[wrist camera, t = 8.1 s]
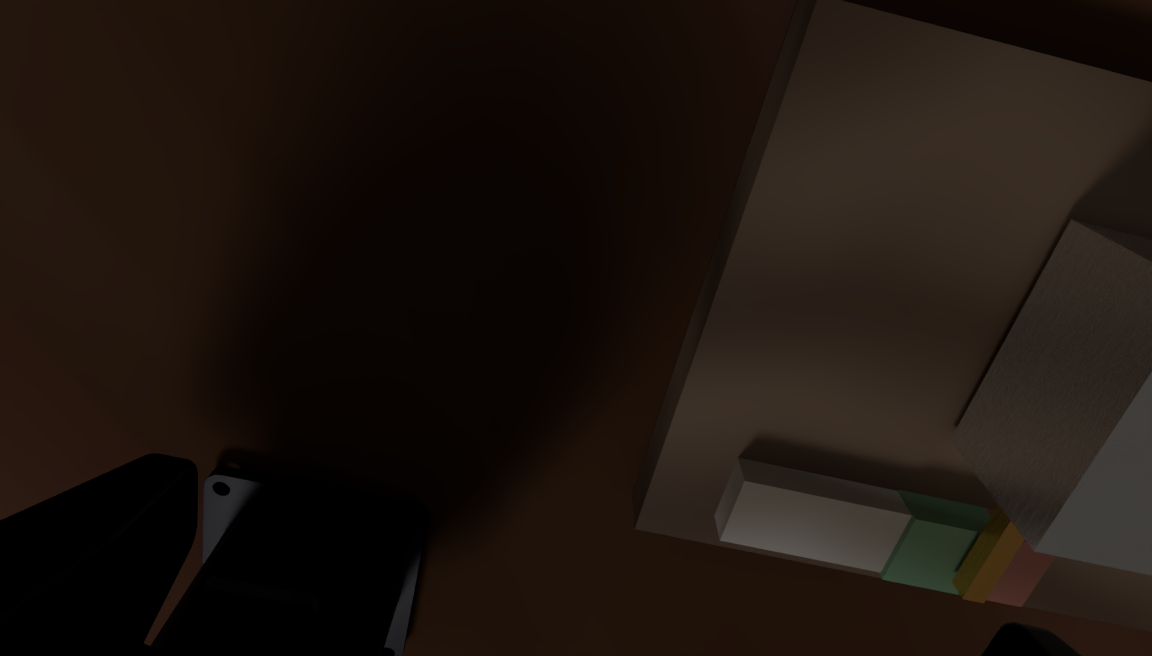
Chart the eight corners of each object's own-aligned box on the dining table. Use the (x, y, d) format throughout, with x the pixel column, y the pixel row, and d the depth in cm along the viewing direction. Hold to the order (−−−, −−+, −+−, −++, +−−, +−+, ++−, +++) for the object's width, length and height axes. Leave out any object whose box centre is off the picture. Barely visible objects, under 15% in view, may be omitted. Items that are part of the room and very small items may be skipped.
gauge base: (1124, 594, 23) (1266, 762, 19) (631, 494, 22) (643, 646, 17) (1449, 162, 17) (1787, 241, 12) (800, -8, 16) (891, 3, 11)
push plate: (995, 564, 21) (1079, 689, 17) (893, 543, 20) (957, 666, 17) (1194, 249, 17) (1360, 328, 13) (1071, 219, 16) (1205, 290, 13)
